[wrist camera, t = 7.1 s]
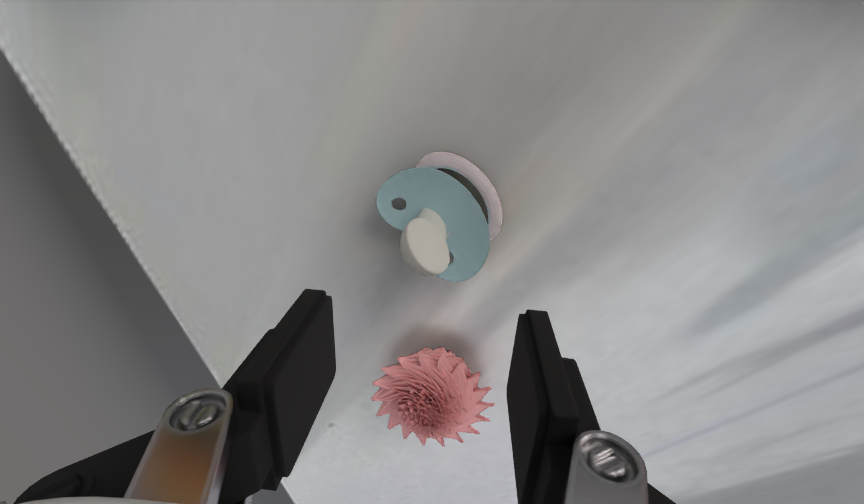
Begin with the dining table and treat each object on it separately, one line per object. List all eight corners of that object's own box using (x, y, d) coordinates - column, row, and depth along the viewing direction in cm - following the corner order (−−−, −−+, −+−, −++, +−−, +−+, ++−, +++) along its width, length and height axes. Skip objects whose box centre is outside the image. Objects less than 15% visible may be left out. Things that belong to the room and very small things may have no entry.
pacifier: (447, 125, 22) (370, 192, 24) (442, 139, 17) (341, 226, 18) (524, 222, 24) (447, 277, 26) (544, 265, 18) (443, 332, 20)
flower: (490, 409, 30) (494, 476, 25) (386, 404, 31) (369, 468, 26) (493, 320, 27) (498, 377, 22) (377, 317, 28) (356, 371, 23)
